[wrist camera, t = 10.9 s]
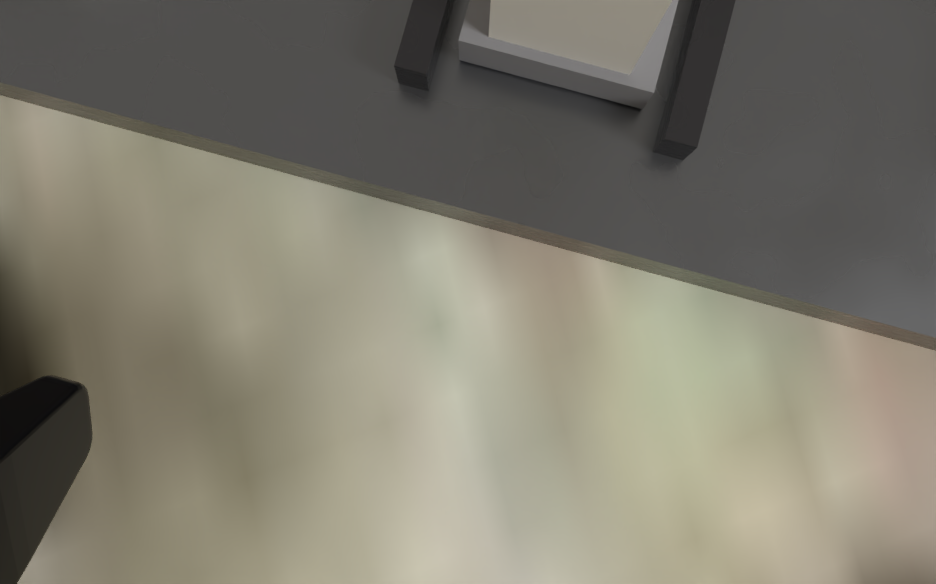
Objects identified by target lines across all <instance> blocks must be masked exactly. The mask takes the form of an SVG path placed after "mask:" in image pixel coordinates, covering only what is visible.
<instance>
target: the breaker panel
mask: <svg viewBox="0 0 936 584" xmlns="http://www.w3.org/2000/svg"><path fill="white" fill-rule="evenodd" d="M469 1H470V0H0V95H3V96H6V97H10V98H14V99H17V100H21V101H25V102H28V103H32V104H36V105H39V106H43V107H47V108H50V109H54V110H58V111H61V112H65V113H69V114H72V115H76V116H80V117H83V118H87V119H91V120H94V121H98V122H102V123H105V124H109V125H113V126H116V127H120V128H124V129H127V130H131V131H135V132H138V133H142V134H146V135H149V136H153V137H157V138H160V139H164V140H168V141H171V142H175V143H179V144H182V145H186V146H189V147H193V148H197V149H200V150H204V151H208V152H211V153H215V154H219V155H222V156H226V157H230V158H233V159H237V160H241V161H244V162H248V163H252V164H255V165H259V166H263V167H266V168H270V169H274V170H277V171H281V172H285V173H288V174H292V175H296V176H299V177H303V178H307V179H310V180H314V181H318V182H321V183H325V184H329V185H332V186H336V187H340V188H343V189H347V190H351V191H354V192H358V193H362V194H365V195H369V196H372V197H376V198H380V199H383V200H387V201H391V202H394V203H398V204H402V205H405V206H409V207H413V208H416V209H420V210H424V211H427V212H431V213H435V214H438V215H442V216H446V217H449V218H453V219H457V220H460V221H464V222H468V223H471V224H475V225H479V226H482V227H486V228H490V229H493V230H497V231H501V232H504V233H508V234H512V235H515V236H519V237H523V238H526V239H530V240H534V241H537V242H541V243H545V244H548V245H552V246H555V247H559V248H563V249H566V250H570V251H574V252H577V253H581V254H585V255H588V256H592V257H596V258H599V259H603V260H607V261H610V262H614V263H618V264H621V265H625V266H629V267H632V268H636V269H640V270H643V271H647V272H651V273H654V274H658V275H662V276H665V277H669V278H673V279H676V280H680V281H684V282H687V283H691V284H695V285H698V286H702V287H706V288H709V289H713V290H717V291H720V292H724V293H728V294H731V295H735V296H738V297H742V298H746V299H749V300H753V301H757V302H760V303H764V304H768V305H771V306H775V307H779V308H782V309H786V310H790V311H793V312H797V313H801V314H804V315H808V316H812V317H815V318H819V319H823V320H826V321H830V322H834V323H837V324H841V325H845V326H848V327H852V328H856V329H859V330H863V331H867V332H870V333H874V334H878V335H881V336H885V337H889V338H892V339H896V340H900V341H903V342H907V343H911V344H914V345H918V346H921V347H925V348H929V349H932V350H936V0H679V1H678V5H677V8H676V12H675V16H674V20H673V23H672V27H671V31H670V35H669V39H668V42H667V46H666V50H665V54H664V57H663V61H662V65H661V69H660V73H659V76H658V80H657V84H656V88H655V91H654V94H653V95H652V97H651V98H650V99H649V101H648V102H647V104H646V105H645V107H644V108H643V109H640V108H636V107H632V106H628V105H625V104H621V103H617V102H614V101H610V100H606V99H602V98H599V97H595V96H591V95H588V94H584V93H580V92H576V91H573V90H569V89H565V88H562V87H558V86H554V85H550V84H547V83H543V82H539V81H536V80H532V79H528V78H524V77H521V76H517V75H513V74H510V73H506V72H502V71H498V70H495V69H491V68H487V67H484V66H480V65H476V64H472V63H469V62H465V61H461V60H459V43H458V40H459V36H460V33H461V29H462V26H463V22H464V19H465V15H466V12H467V8H468V5H469Z"/></svg>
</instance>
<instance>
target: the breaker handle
mask: <svg viewBox="0 0 936 584" xmlns="http://www.w3.org/2000/svg"><path fill="white" fill-rule="evenodd" d="M678 1H679V0H470V1H469V5H468V8H467V12H466V15H465V19H464V22H463V26H462V29H461V33H460V36H459V40H458V43H459V60H461V61H465V62H469V63H472V64H476V65H480V66H484V67H487V68H491V69H495V70H498V71H502V72H506V73H510V74H513V75H517V76H521V77H524V78H528V79H532V80H536V81H539V82H543V83H547V84H550V85H554V86H558V87H562V88H565V89H569V90H573V91H576V92H580V93H584V94H588V95H591V96H595V97H599V98H602V99H606V100H610V101H614V102H617V103H621V104H625V105H628V106H632V107H636V108H640V109H643V108H644V107H645V105H646V104H647V102H648V101H649V99H650V98H651V97H652V95H653V94H654V91H655V88H656V84H657V80H658V76H659V73H660V69H661V65H662V61H663V57H664V54H665V50H666V46H667V42H668V39H669V35H670V31H671V27H672V23H673V20H674V16H675V12H676V8H677V5H678Z"/></svg>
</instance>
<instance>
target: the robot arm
mask: <svg viewBox="0 0 936 584" xmlns="http://www.w3.org/2000/svg"><path fill="white" fill-rule="evenodd" d="M91 443H92V426H91V416H90V406H89V396H88V391H87V389H86V388H85V386H84V385H83V384H81V383H79V382H75V381H72V380H68V379H65V378H61V377H58V376H52V375H48V376H44V377H41V378H38V379H36V380H34V381H32V382H30V383H28V384H26V385H24V386H21V387H19V388H17V389H15V390H13V391H11V392H9V393H7V394H5V395H3V396H1V397H0V584H17V582H18V581H19V579H20V577H21V576H22V574H23V572H24V571H25V569H26V567H27V565H28V564H29V562H30V560H31V558H32V557H33V555H34V553H35V551H36V549H37V547H38V546H39V544H40V542H41V540H42V538H43V536H44V535H45V533H46V531H47V529H48V527H49V525H50V523H51V522H52V520H53V518H54V516H55V514H56V512H57V511H58V509H59V507H60V505H61V503H62V501H63V500H64V498H65V496H66V494H67V492H68V490H69V489H70V487H71V485H72V483H73V481H74V479H75V478H76V476H77V474H78V472H79V470H80V468H81V466H82V465H83V463H84V461H85V459H86V457H87V455H88V453H89V450H90V447H91Z"/></svg>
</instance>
